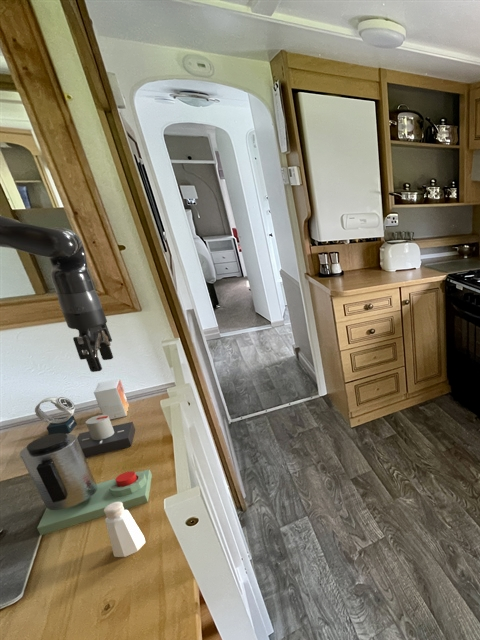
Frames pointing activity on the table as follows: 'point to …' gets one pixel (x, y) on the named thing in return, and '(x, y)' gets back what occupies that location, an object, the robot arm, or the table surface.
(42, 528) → the kettle base
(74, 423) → the watch
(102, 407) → the small box
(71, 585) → the table surface
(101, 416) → the temp dial
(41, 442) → the kettle
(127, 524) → the salt shaker
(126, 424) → the dial panel
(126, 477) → the kettle switch
